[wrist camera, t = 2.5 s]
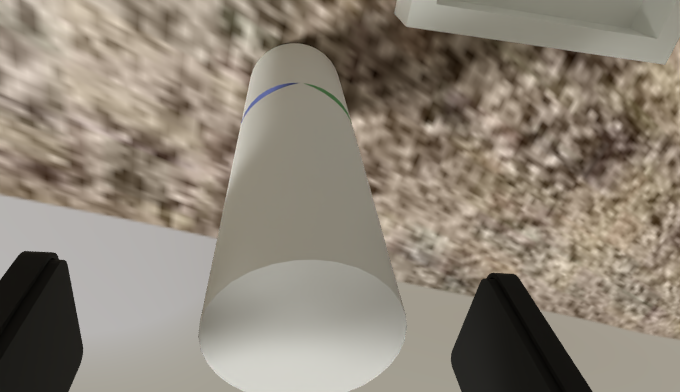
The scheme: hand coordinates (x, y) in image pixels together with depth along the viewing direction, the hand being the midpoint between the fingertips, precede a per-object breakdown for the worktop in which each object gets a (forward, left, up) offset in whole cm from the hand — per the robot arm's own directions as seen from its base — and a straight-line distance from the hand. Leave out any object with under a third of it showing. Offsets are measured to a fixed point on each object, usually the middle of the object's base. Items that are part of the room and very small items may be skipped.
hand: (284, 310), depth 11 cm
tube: (0, 0, -14) cm, 14 cm away
